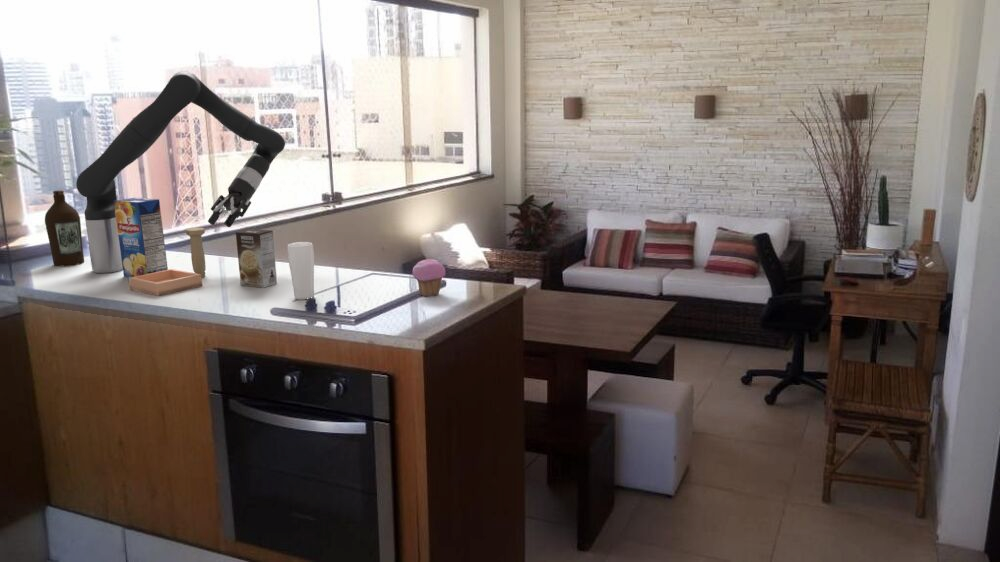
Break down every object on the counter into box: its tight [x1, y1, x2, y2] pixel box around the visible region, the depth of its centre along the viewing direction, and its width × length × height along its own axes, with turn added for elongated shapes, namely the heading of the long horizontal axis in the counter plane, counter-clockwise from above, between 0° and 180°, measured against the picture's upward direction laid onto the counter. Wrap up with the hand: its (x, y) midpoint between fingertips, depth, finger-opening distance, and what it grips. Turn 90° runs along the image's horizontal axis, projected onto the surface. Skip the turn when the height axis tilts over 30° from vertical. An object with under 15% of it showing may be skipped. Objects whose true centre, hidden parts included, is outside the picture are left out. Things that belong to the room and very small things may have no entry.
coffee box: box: [235, 228, 278, 289], centre depth 241 cm, size 9×6×16 cm
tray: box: [128, 268, 203, 297], centre depth 241 cm, size 15×14×4 cm
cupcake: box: [412, 258, 446, 297], centre depth 223 cm, size 9×9×10 cm
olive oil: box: [44, 189, 85, 267], centre depth 279 cm, size 11×11×25 cm
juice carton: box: [114, 197, 169, 278], centre depth 256 cm, size 12×8×24 cm, turn 59°
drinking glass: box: [287, 241, 315, 301], centre depth 223 cm, size 7×7×15 cm
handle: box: [184, 227, 207, 278], centre depth 253 cm, size 5×6×15 cm
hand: (218, 224), depth 258 cm, fingers open, 8 cm apart
